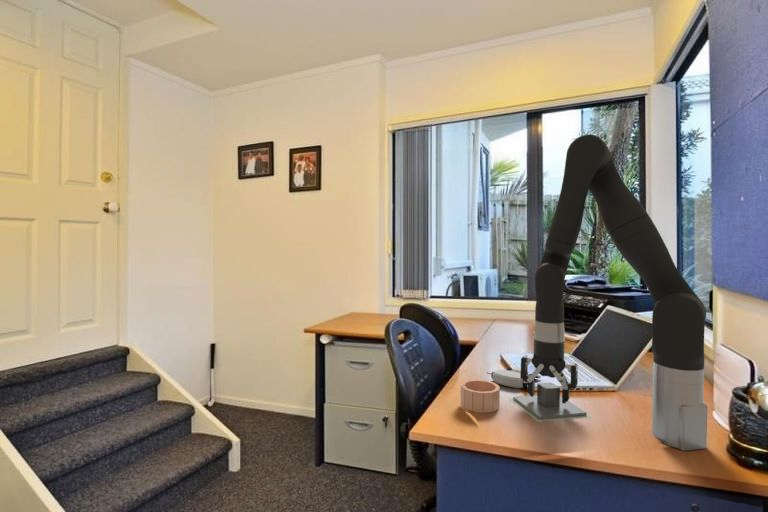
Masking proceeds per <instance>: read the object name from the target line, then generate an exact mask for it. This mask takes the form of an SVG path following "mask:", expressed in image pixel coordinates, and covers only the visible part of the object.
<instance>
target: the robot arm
mask: <svg viewBox="0 0 768 512" xmlns="http://www.w3.org/2000/svg"><path fill="white" fill-rule="evenodd" d="M564 164H565V165H564V171H563V178H562V183H561V189H560V193H559V198H558V202H557V204H556V207H555V211H554V215H553V219H552V220H551V224H550V227H549V231H548V234H547V238H546V240H545V245H544V246H545V247H544V252H543V255H542V258H541V260H540V264H539V267H538V268H536V271H535V273H534V288H535V291H534V292H535V317H534V318H535V319H534V327H533V357H529V356H528V355H523V356H522V357H521V358H520V368H521V374H520V377H521V379H525V380H526V381H527V382H528V385H527V394H529V395H530V396H531V397H533V396H534V395H536V394H535V390H536V387H535V386H536V380H534V379H535V377H536V376H537V375H539V376H541V377H549V378H553V379H554V378H555V379H556V380H557V382H558V383H559V384H560V385H561V387H562V389H561V390H562V391H561V394H562V395H561V397H562V403H564V404H565V403H566V402H568V401H569V400H570V390H574V389H576V388H577V387H578V380H579V379H578V378H579V377H578V372H579V371H578V364H577V363H575V362H574V363H568V362H566V361H565V338H566V337H565V333H566V331H565V305H564V301H563V300H564V287H565V279H566V275H567V272H568V267H569V264H570V260H571V256H572V254H573V251H574V250H575V247H576V244H577V241H578V238H579V235H580V232H581V228H582V225H583V218H584V211H585V206H586V200H587V196H588V193H589V192H590V193H591V195H592V196H593V198H594V200H595V203H596V204H597V205H596V206H597V208H598V212H599V214H600V218H601V220H602V223H603V225H604V227H605V229H606V231H607V233H608V235H609V237H610V238H611V240H612V243H613V244H614V246H615V247H616V249H617V250H618V252H619V253H620V254H621V256H622V257H623V259H625V261H626V262H627V263H628V265H630V266H631V268H632V269H633V270H634V271H635V272H636V273H637V275H638V276H639V277H640V278H641V280H642V281H643V282H644V284H645V286H646V288H647V290H648V293H649V295H650V296H651V298H652V301H653V303H654V306H653V310H652V317H651V318H652V319H651V320H652V323H651V349H652V354H653V358H652V359H653V363H652V364H653V365H652V367H653V368H652V395H651V397H652V400H651V403H652V405H651V434H652V435H653V436H654V437H656V438H657V439H659V440H660V442H661V441H662V442H661V443H662V444H663V445H667V446H668V447H673V448H676V449H679V450H680V451H694V450H702V449H707V447H708V444H707V443H708V442H707V440H708V439H707V437H708V411H709V410H708V408H709V407H708V405H707V404H706V403H704V389H705V388H704V384H705V324H706V319H707V310H706V306H705V303H704V302H703V301H702V300H701V299H700V298H699V296H698V295H697V294H696V292H695V291H694V290H693V289H692V287H691V286H690V285H689V283H688V282H687V281H686V280H685V278H684V277H683V276H682V274H681V272H680V271H679V270H678V268H677V265H676V264H675V262H674V261H673V259H672V256H671V254H670V252H669V249H668V247H667V245H666V243H665V241H664V239H663V237H662V236H661V233H659V231H658V229H657V227H656V224H655V223H654V222H653V220H652V218H651V216H650V215H649V213H648V212H647V210H646V209H645V208H644V206H643V205H642V204H641V202H640V200H638V198H637V197H636V196H635V195H634V194H633V192H632V191H631V189H629V188H628V186H627V185H626V184H625V182H624V180H623V179H622V177H621V176H620V173H619V171H618V169H617V167H616V165H615V162H614V160H613V157H612V154H611V151H610V149H609V147H608V146H607V144H606V142H605V141H604V140H603V139H602V138H601V137H599V136H598V135H594V134H584V135H581V136H578V137H577V138H575V139H574V140H573V141H571V143H570V144H569V146H568V148H567V149H566V156H565V163H564ZM531 363H532V365H533V366H534V368H535V370H534V371H533V372H532V373H530V374H531V375H529V371H528V367H529V365H530V364H531ZM565 369H567V372H568V373H569V374H570V382H569V380H568V379H567V377H566V375H565V374H564V372H563V371H564V370H565ZM527 372H528V374H527Z"/></svg>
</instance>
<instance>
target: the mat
mask: <svg viewBox="0 0 768 512" xmlns="http://www.w3.org/2000/svg"><path fill="white" fill-rule="evenodd" d="M508 400H509V401H511V402H512V403H513V404H514V405H515V406H517V407H518V408H520V410H522V411H523V412H524V413H526V414H527V415H529V417H531V418H532V419H533V420H534V421H536V422H537V423H543V422H552V421H564V420H574V419H576V420H577V419H587V418H588V419H589V418H593V416H592V415H590V414H589V413H587V416H576V417H565V418H554V419H542V420H539V419H538V418H536V417H535V416H534V415H533V414H531V413H530V412H529V411H527V410H526V409H525V408H524V407H522V406H521V405H520V404H519V403H517V402H516V401H515V400H513V397H511V398H508Z"/></svg>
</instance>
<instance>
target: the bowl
mask: <svg viewBox="0 0 768 512" xmlns="http://www.w3.org/2000/svg"><path fill="white" fill-rule="evenodd" d="M500 399H501V387H500V384H498V383H496V382H494V381H489V380H486V379H467V380H465V381H462V382H461V384H460V406H461V409H462V410H463V411H464V412H465V413H466V412H467V413H468V414H471V412H475V413H482V414H484V413H493V412H495V411H498V410H500V406H501V405H500V401H501V400H500Z"/></svg>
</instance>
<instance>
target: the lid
mask: <svg viewBox="0 0 768 512" xmlns="http://www.w3.org/2000/svg"><path fill="white" fill-rule="evenodd" d="M536 393H537V394H534V396H533V397H531V396H530V394H529V395H519V396H516V395H515V396H513V397H512V398H513V400H515V401H516V402H517V403H519V404H520V405H521V406H522V407H524V408H525V409H526V410H527V411H529V412H530V413H531V414H533V415H534V416H535V417H536V418H538V419H539V420H542V419H554V418H565V417H576V416H587V414H588V413H587V412H586V410H583V409H582V408H581V407H579V406H577V405H575V403H572V402H570V401H569V400H568V402H566V403H565V404H564V403H562V395H561V388H560V387H559V386H558V385H556V384H555V383H552V382H540V383H537V389H536Z"/></svg>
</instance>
